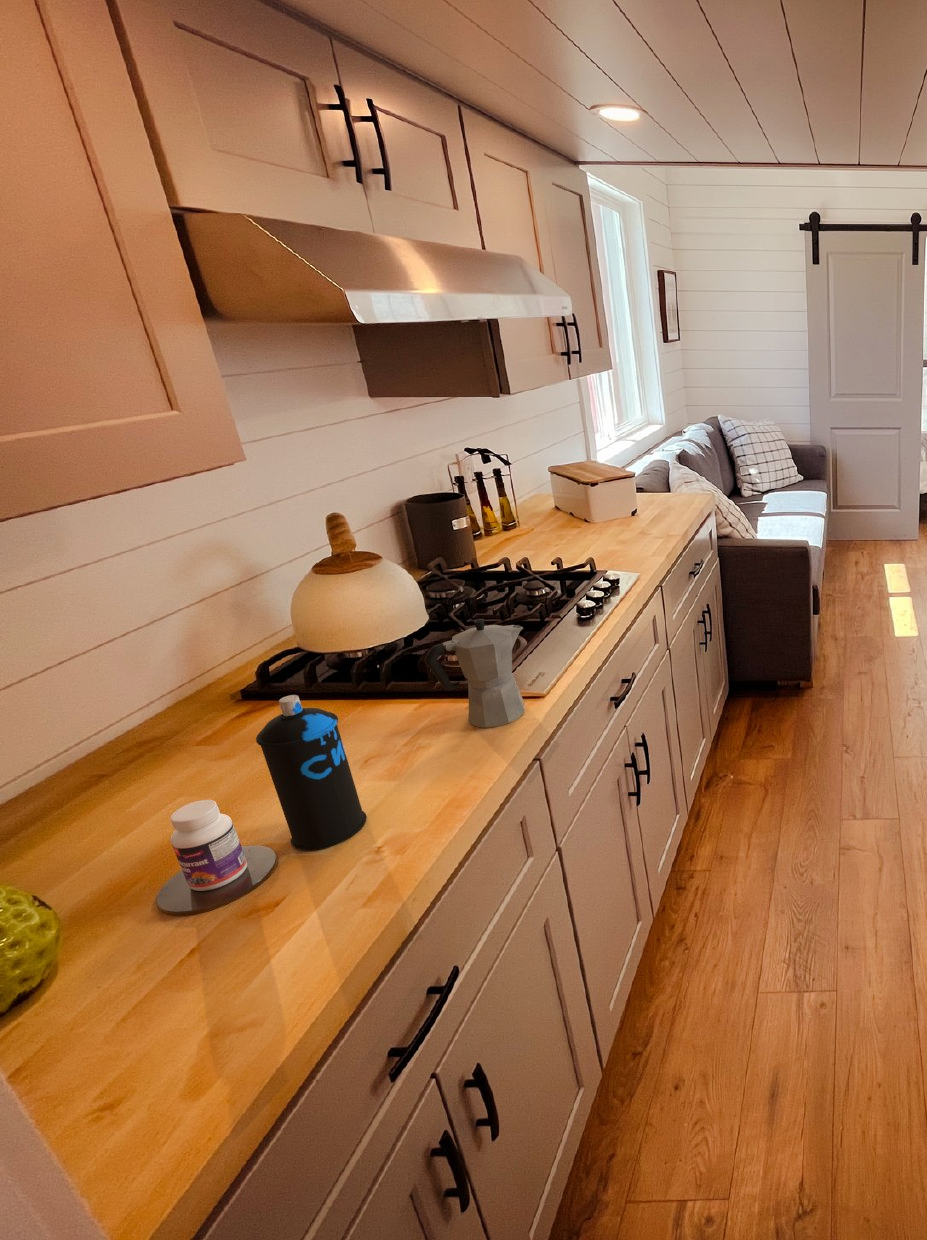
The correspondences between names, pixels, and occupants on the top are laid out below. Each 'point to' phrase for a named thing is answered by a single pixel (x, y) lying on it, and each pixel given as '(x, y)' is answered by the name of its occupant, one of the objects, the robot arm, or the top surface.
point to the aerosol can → (311, 775)
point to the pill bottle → (206, 846)
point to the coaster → (188, 901)
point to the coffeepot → (484, 672)
